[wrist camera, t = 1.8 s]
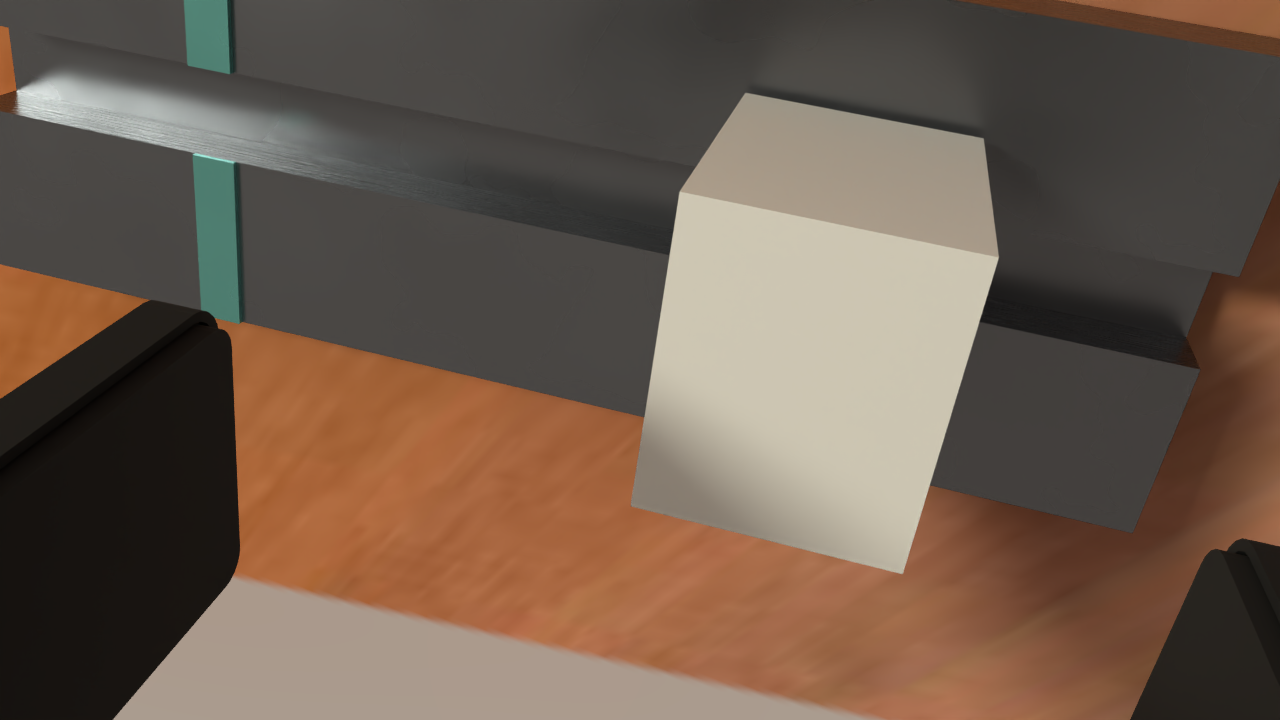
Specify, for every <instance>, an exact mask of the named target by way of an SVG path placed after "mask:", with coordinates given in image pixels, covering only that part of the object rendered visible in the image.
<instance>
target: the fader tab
mask: <svg viewBox="0 0 1280 720" xmlns="http://www.w3.org/2000/svg"><path fill="white" fill-rule="evenodd" d="M998 259H999V255H998V247H997V239H996V231H995V223H994V216H993V208H992V200H991V192H990V184H989V177H988V169H987V161H986V153H985V145H984V138H979V137H974V136H968V135H963V134H958V133H953V132H948V131H942V130H937V129H932V128H927V127H922V126H916V125H911V124H906V123H901V122H896V121H890V120H885V119H880V118H875V117H869V116H864V115H859V114H854V113H849V112H843V111H838V110H833V109H828V108H823V107H817V106H812V105H807V104H802V103H796V102H791V101H786V100H781V99H776V98H770V97H765V96H760V95H755V94H750V93H745V94H744V96H743V97H742V99H741V100H740V102H739V103H738V105H737V106H736V108H735V109H734V111H733V112H732V114H731V115H730V117H729V118H728V120H727V121H726V123H725V124H724V126H723V127H722V129H721V130H720V132H719V133H718V135H717V136H716V138H715V139H714V141H713V142H712V144H711V145H710V147H709V148H708V150H707V151H706V153H705V154H704V156H703V157H702V159H701V160H700V162H699V163H698V165H697V166H696V168H695V169H694V171H693V172H692V174H691V175H690V177H689V178H688V180H687V181H686V183H685V184H684V186H683V187H682V189H681V190H680V192H679V199H678V205H677V212H676V218H675V224H674V231H673V237H672V244H671V250H670V257H669V263H668V269H667V276H666V282H665V289H664V295H663V301H662V308H661V314H660V321H659V327H658V334H657V340H656V346H655V353H654V359H653V366H652V372H651V379H650V385H649V391H648V398H647V404H646V411H645V417H644V423H643V430H642V436H641V443H640V449H639V456H638V462H637V468H636V475H635V481H634V488H633V494H632V500H631V506H632V507H636V508H640V509H644V510H648V511H652V512H656V513H660V514H664V515H668V516H672V517H676V518H680V519H684V520H688V521H692V522H696V523H700V524H704V525H708V526H712V527H716V528H720V529H724V530H728V531H732V532H736V533H740V534H744V535H748V536H752V537H756V538H760V539H764V540H768V541H772V542H776V543H780V544H784V545H788V546H792V547H796V548H800V549H804V550H808V551H812V552H816V553H820V554H824V555H828V556H832V557H836V558H840V559H844V560H848V561H852V562H856V563H860V564H864V565H868V566H872V567H876V568H880V569H884V570H888V571H892V572H896V573H900V574H903V571H904V568H905V565H906V562H907V558H908V555H909V552H910V548H911V545H912V542H913V539H914V535H915V532H916V529H917V525H918V522H919V519H920V516H921V512H922V509H923V506H924V502H925V499H926V496H927V492H928V489H929V486H930V483H931V479H932V476H933V473H934V469H935V466H936V463H937V460H938V456H939V453H940V450H941V446H942V443H943V440H944V437H945V433H946V430H947V427H948V423H949V420H950V417H951V414H952V410H953V407H954V404H955V400H956V397H957V394H958V390H959V387H960V384H961V381H962V377H963V374H964V371H965V367H966V364H967V361H968V358H969V354H970V351H971V348H972V344H973V341H974V338H975V335H976V331H977V328H978V325H979V321H980V318H981V315H982V312H983V308H984V305H985V302H986V298H987V295H988V292H989V288H990V285H991V282H992V279H993V275H994V272H995V269H996V265H997V262H998Z"/></svg>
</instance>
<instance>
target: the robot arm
mask: <svg viewBox="0 0 1280 720" xmlns="http://www.w3.org/2000/svg"><path fill="white" fill-rule="evenodd" d="M239 553H240V538H239V513H238V489H237V464H236V439H235V415H234V390H233V366H232V346H231V339H230V337H229V335H228V333H227V332H226V331H225V330H222V329H218V326H217V323H216V320H215V318H214V316H213V315H211V314H210V313H209V312H207V311H203V310H198V309H194V308H189V307H184V306H180V305H175V304H171V303H166V302H162V301H156V300H150V301H148V302H145V303H143V304H142V305H140V306H139V307H137V308H136V309H134V310H133V311H131V312H130V313H128V314H127V315H125V316H124V317H122V318H121V319H119V320H118V321H116V322H115V323H113V324H112V325H110V326H109V327H107V328H106V329H104V330H103V331H101V332H100V333H98V334H97V335H95V336H94V337H92V338H91V339H89V340H88V341H86V342H85V343H83V344H82V345H80V346H79V347H77V348H76V349H74V350H73V351H71V352H70V353H68V354H67V355H65V356H64V357H62V358H61V359H59V360H58V361H56V362H55V363H53V364H52V365H50V366H49V367H47V368H46V369H44V370H43V371H41V372H40V373H38V374H37V375H35V376H34V377H32V378H31V379H29V380H28V381H26V382H25V383H23V384H22V385H20V386H19V387H17V388H16V389H15V390H13V391H12V392H10V393H9V394H7V395H6V396H4V397H3V398H1V399H0V720H113V719H114V717H115V716H116V715H117V714H118V713H119V712H120V710H121V709H122V708H123V707H124V706H125V705H126V703H127V702H128V701H129V700H130V699H131V697H132V696H133V695H134V694H135V693H136V692H137V690H138V689H139V688H140V687H141V686H142V685H143V683H144V682H145V681H146V680H147V679H148V677H149V676H150V675H151V674H152V673H153V672H154V670H155V669H156V668H157V667H158V666H159V665H160V663H161V662H162V661H163V660H164V659H165V658H166V656H167V655H168V654H169V653H170V651H172V649H173V648H174V647H175V646H176V645H177V643H178V642H179V641H180V640H181V639H182V638H183V636H184V635H185V634H186V633H187V632H188V631H189V629H190V628H191V627H192V626H193V625H194V623H195V622H196V621H197V620H198V619H199V618H200V617H201V615H202V614H203V613H204V612H205V611H206V609H207V608H208V607H209V606H210V605H211V604H212V602H213V601H214V600H215V599H216V598H217V597H218V595H219V594H220V593H221V592H222V591H223V589H224V588H225V587H226V586H227V584H228V583H229V582H230V580H231V578H232V576H233V574H234V572H235V569H236V566H237V563H238V559H239ZM1130 720H1280V547H1279V546H1275V545H1270V544H1266V543H1261V542H1256V541H1252V540H1247V539H1243V538H1242V539H1240V540H1237V541H1235V542H1234V543H1233V544H1232V545H1231V546H1230V547H1229V549H1228V550H1227V551H1222V550H1218V549H1214V550H1211V551H1210V552H1209V553H1208V554H1207V555H1206V556H1205V558H1204V560H1203V562H1202V563H1201V566H1200V568H1199V570H1198V572H1197V574H1196V577H1195V579H1194V581H1193V583H1192V585H1191V587H1190V590H1189V592H1188V594H1187V596H1186V598H1185V601H1184V603H1183V605H1182V607H1181V609H1180V612H1179V614H1178V616H1177V618H1176V620H1175V623H1174V625H1173V627H1172V629H1171V631H1170V634H1169V636H1168V638H1167V640H1166V642H1165V644H1164V647H1163V649H1162V651H1161V653H1160V655H1159V658H1158V660H1157V662H1156V664H1155V666H1154V669H1153V671H1152V673H1151V675H1150V677H1149V680H1148V682H1147V684H1146V686H1145V688H1144V691H1143V693H1142V695H1141V697H1140V699H1139V702H1138V704H1137V706H1136V708H1135V710H1134V712H1133V715H1132V717H1131V719H1130Z"/></svg>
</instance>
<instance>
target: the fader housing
mask: <svg viewBox="0 0 1280 720" xmlns="http://www.w3.org/2000/svg"><path fill="white" fill-rule="evenodd" d="M0 26H4V27H9V34H10V42H11V49H12V57H13V65H14V73H15V81H16V89H17V90H16V91H13V92H10V93H7V94H3V95H0V264H2V265H6V266H10V267H14V268H19V269H23V270H27V271H31V272H35V273H40V274H44V275H48V276H52V277H56V278H61V279H65V280H69V281H73V282H77V283H82V284H86V285H90V286H94V287H98V288H103V289H107V290H111V291H115V292H119V293H124V294H128V295H132V296H136V297H141V298H145V299H149V300H156V301H162V302H166V303H171V304H175V305H180V306H184V307H189V308H194V309H198V310H203V311H207V312H209V313H210V314H211V315H213V316H214V318H217V319H221V320H226V321H230V322H234V323H238V324H240V323H241V322H246V323H250V324H254V325H258V326H263V327H267V328H271V329H275V330H279V331H284V332H288V333H292V334H296V335H300V336H305V337H309V338H313V339H317V340H321V341H326V342H330V343H334V344H338V345H342V346H347V347H351V348H355V349H359V350H363V351H368V352H372V353H376V354H380V355H385V356H389V357H393V358H397V359H401V360H406V361H410V362H414V363H418V364H422V365H427V366H431V367H435V368H439V369H443V370H448V371H452V372H456V373H460V374H464V375H469V376H473V377H477V378H481V379H486V380H490V381H494V382H498V383H502V384H507V385H511V386H515V387H519V388H523V389H528V390H532V391H536V392H540V393H544V394H549V395H553V396H557V397H561V398H565V399H570V400H574V401H578V402H582V403H586V404H591V405H595V406H599V407H603V408H608V409H612V410H616V411H620V412H624V413H629V414H633V415H637V416H641V417H645V411H646V404H647V398H648V391H649V385H650V379H651V372H652V366H653V359H654V353H655V346H656V340H657V334H658V327H659V321H660V314H661V308H662V301H663V295H664V289H665V282H666V276H667V269H668V263H669V257H670V250H671V244H672V237H673V231H674V224H675V218H676V212H677V205H678V199H679V192H680V190H681V189H682V187H683V186H684V184H685V183H686V181H687V180H688V178H689V177H690V175H691V174H692V172H693V171H694V169H695V168H696V166H697V165H698V163H699V162H700V160H701V159H702V157H703V156H704V154H705V153H706V151H707V150H708V148H709V147H710V145H711V144H712V142H713V141H714V139H715V138H716V136H717V135H718V133H719V132H720V130H721V129H722V127H723V126H724V124H725V123H726V121H727V120H728V118H729V117H730V115H731V114H732V112H733V111H734V109H735V108H736V106H737V105H738V103H739V102H740V100H741V99H742V97H743V96H744V94H745V93H750V94H755V95H760V96H765V97H770V98H776V99H781V100H786V101H791V102H796V103H802V104H807V105H812V106H817V107H823V108H828V109H833V110H838V111H843V112H849V113H854V114H859V115H864V116H869V117H875V118H880V119H885V120H890V121H896V122H901V123H906V124H911V125H916V126H922V127H927V128H932V129H937V130H942V131H948V132H953V133H958V134H963V135H968V136H974V137H979V138H984V145H985V153H986V161H987V169H988V177H989V184H990V192H991V200H992V208H993V216H994V223H995V231H996V239H997V247H998V255H999V259H998V262H997V265H996V269H995V272H994V275H993V279H992V282H991V285H990V288H989V292H988V295H987V298H986V302H985V305H984V308H983V312H982V315H981V318H980V321H979V325H978V328H977V331H976V335H975V338H974V341H973V344H972V348H971V351H970V354H969V358H968V361H967V364H966V367H965V371H964V374H963V377H962V381H961V384H960V387H959V390H958V394H957V397H956V400H955V404H954V407H953V410H952V414H951V417H950V420H949V423H948V427H947V430H946V433H945V437H944V440H943V443H942V446H941V450H940V453H939V456H938V460H937V463H936V466H935V469H934V473H933V476H932V479H931V483H930V485H931V486H936V487H940V488H944V489H948V490H953V491H957V492H961V493H965V494H969V495H974V496H978V497H982V498H986V499H990V500H995V501H999V502H1003V503H1007V504H1011V505H1016V506H1020V507H1024V508H1028V509H1032V510H1037V511H1041V512H1045V513H1049V514H1053V515H1058V516H1062V517H1066V518H1070V519H1075V520H1079V521H1083V522H1087V523H1091V524H1096V525H1100V526H1104V527H1108V528H1112V529H1117V530H1121V531H1125V532H1129V533H1133V531H1134V529H1135V526H1136V524H1137V521H1138V519H1139V517H1140V514H1141V512H1142V509H1143V507H1144V505H1145V502H1146V500H1147V497H1148V495H1149V493H1150V490H1151V488H1152V485H1153V483H1154V481H1155V478H1156V476H1157V473H1158V471H1159V469H1160V466H1161V464H1162V461H1163V459H1164V457H1165V454H1166V452H1167V449H1168V447H1169V444H1170V442H1171V440H1172V437H1173V435H1174V432H1175V430H1176V428H1177V425H1178V423H1179V420H1180V418H1181V416H1182V413H1183V411H1184V408H1185V406H1186V404H1187V401H1188V399H1189V396H1190V394H1191V392H1192V389H1193V387H1194V384H1195V382H1196V380H1197V377H1198V375H1199V372H1200V370H1201V369H1200V367H1199V365H1198V363H1197V361H1196V359H1195V356H1194V354H1193V352H1192V350H1191V348H1190V345H1189V343H1188V341H1187V339H1186V337H1187V335H1188V332H1189V330H1190V327H1191V325H1192V322H1193V320H1194V317H1195V315H1196V312H1197V310H1198V307H1199V305H1200V302H1201V300H1202V297H1203V295H1204V292H1205V290H1206V287H1207V285H1208V282H1209V280H1210V277H1211V275H1212V273H1213V272H1217V273H1221V274H1226V275H1231V276H1236V277H1239V276H1240V274H1241V271H1242V269H1243V266H1244V264H1245V262H1246V259H1247V257H1248V254H1249V252H1250V250H1251V247H1252V245H1253V242H1254V240H1255V238H1256V235H1257V233H1258V230H1259V228H1260V226H1261V223H1262V221H1263V218H1264V216H1265V213H1266V211H1267V209H1268V206H1269V204H1270V201H1271V199H1272V197H1273V194H1274V192H1275V189H1276V187H1277V185H1278V182H1279V180H1280V39H1278V38H1272V37H1266V36H1260V35H1255V34H1249V33H1243V32H1237V31H1231V30H1226V29H1220V28H1214V27H1208V26H1202V25H1197V24H1191V23H1185V22H1179V21H1173V20H1168V19H1162V18H1156V17H1150V16H1144V15H1139V14H1133V13H1127V12H1121V11H1115V10H1110V9H1104V8H1098V7H1092V6H1087V5H1081V4H1075V3H1069V2H1063V1H1058V0H0Z"/></svg>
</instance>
